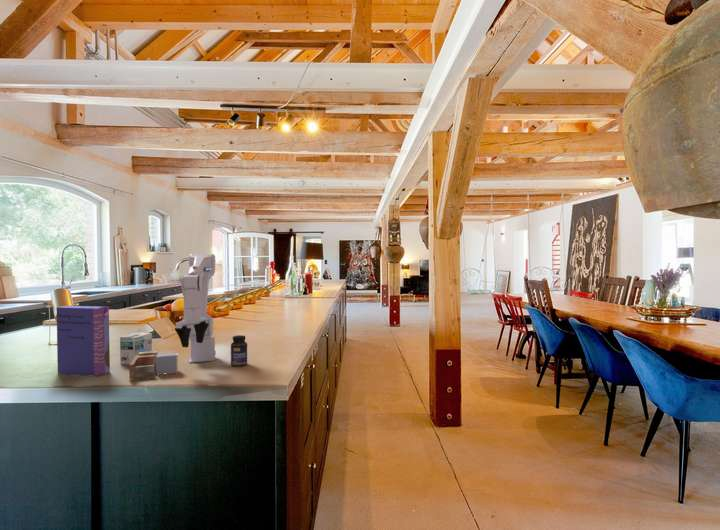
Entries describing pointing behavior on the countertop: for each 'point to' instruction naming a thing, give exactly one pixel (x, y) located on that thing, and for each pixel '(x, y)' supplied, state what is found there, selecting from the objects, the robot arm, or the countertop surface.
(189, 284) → the robot arm
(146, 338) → the light bulb box
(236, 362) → the pill bottle
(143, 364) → the shelf
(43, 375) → the countertop surface
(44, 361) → the countertop surface
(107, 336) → the cereal box
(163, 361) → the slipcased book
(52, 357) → the countertop surface
